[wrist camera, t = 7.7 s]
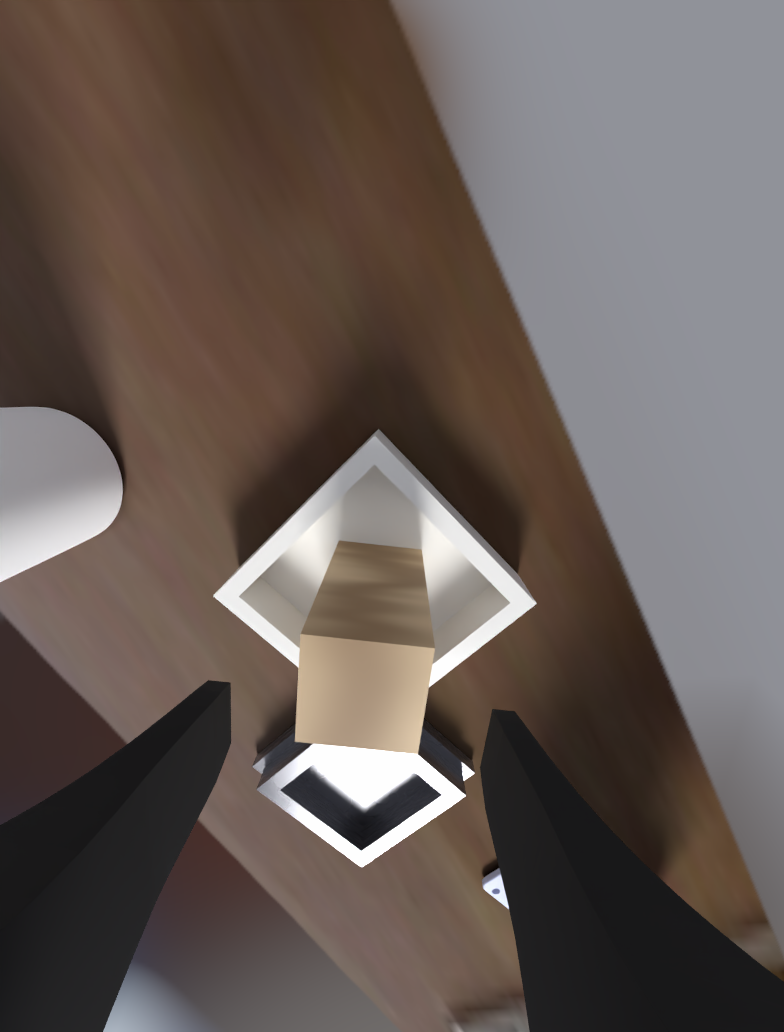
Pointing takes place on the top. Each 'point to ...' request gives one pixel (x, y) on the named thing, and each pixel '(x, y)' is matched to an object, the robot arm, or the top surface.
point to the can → (51, 486)
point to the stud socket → (363, 789)
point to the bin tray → (382, 521)
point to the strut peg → (367, 651)
